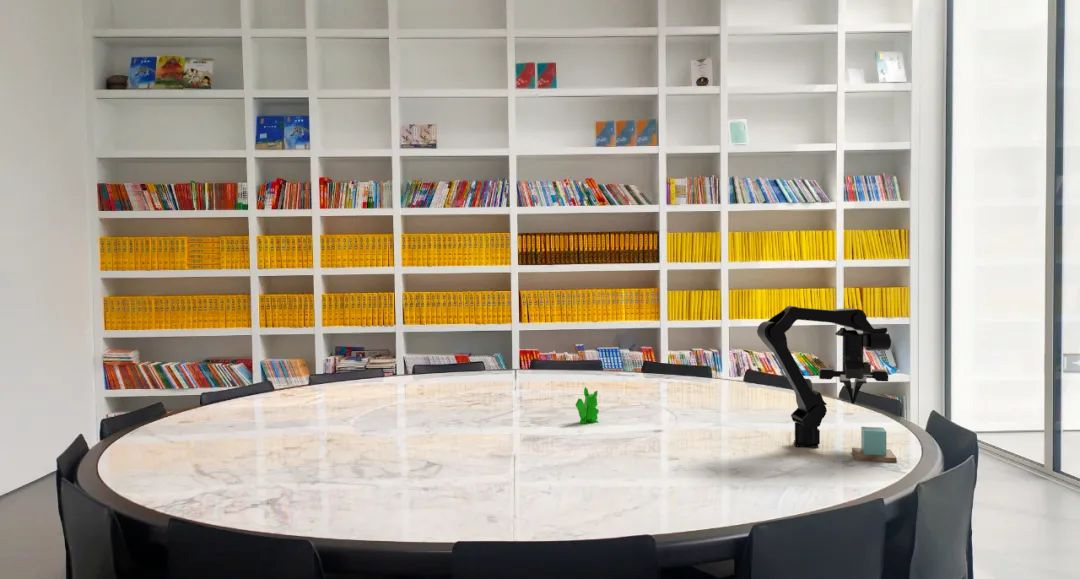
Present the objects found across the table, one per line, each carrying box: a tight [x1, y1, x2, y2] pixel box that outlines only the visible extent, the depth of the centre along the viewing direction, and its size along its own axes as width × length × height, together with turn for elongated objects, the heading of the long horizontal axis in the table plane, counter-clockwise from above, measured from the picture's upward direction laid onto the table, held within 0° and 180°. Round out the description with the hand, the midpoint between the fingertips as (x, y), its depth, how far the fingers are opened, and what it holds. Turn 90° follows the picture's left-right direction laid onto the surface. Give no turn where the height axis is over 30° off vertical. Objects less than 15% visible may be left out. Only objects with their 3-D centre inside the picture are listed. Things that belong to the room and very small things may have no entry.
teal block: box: [860, 426, 887, 456], centre depth 213 cm, size 6×6×6 cm
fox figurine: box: [575, 386, 600, 425], centre depth 264 cm, size 6×10×12 cm, turn 134°
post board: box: [851, 447, 898, 463], centre depth 213 cm, size 10×10×6 cm
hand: (852, 403), depth 229 cm, fingers closed
